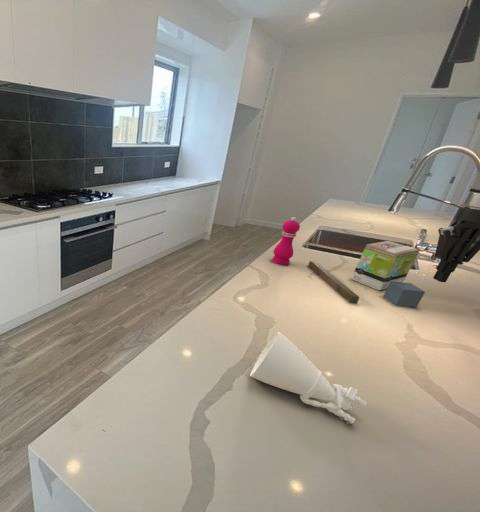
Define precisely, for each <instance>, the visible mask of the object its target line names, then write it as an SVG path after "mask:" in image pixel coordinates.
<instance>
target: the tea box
mask: <svg viewBox="0 0 480 512" xmlns="http://www.w3.org/2000/svg"><path fill="white" fill-rule="evenodd" d="M420 251H421V250H420V249H419V248H416V247H412V246H408V245H405V244H401V243H398V242H394V241H391V240H385V241H379V242H373V243H366V245H365V247H364V248H363V251H362V253H361V256H360V258H359V260H358V263H357V264H356V267H355V269H354V271H353V273H352V275H351V277H350V280H353V281H355V282H357V283H360V284H362V285H363V286H364V285H365V286H367V287H369V288H372V289H375V290H377V291H383V290H387V287H388V285H389V283H390V281H394V282H403V283H404V281H406V277H407V275H408V273H409V272H410V270H411V268H412V267H413V265H414V263H415V261H416V259H417V257H418V255H419V253H420Z"/></svg>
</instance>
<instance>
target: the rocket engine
mask: <svg viewBox="0 0 480 512" xmlns="http://www.w3.org/2000/svg"><path fill="white" fill-rule="evenodd" d="M249 376H250V377H251V378H253V379H254V380H257V381H260V382H262V383H265V384H267V385H270V386H273V387H275V388H278V389H281V390H284V391H287V392H290V393H294V394H298V395H299V399H300V401H302V402H303V403H304V404H306V405H308V406H313V407H317V408H322V409H326V410H327V411H328V412H329V413H332V414H334V415H335V416H337V417H340V420H344V421H346V424H354V422H355V420H356V418H355V417H354V416H352V415H350V413H347V412H345V411H351V410H352V409H353V405H352V404H356V405H357V407H358V408H360V406H361V408H365V407H366V406H367V404H368V403H367V402H368V401H366V400H365V399H364V398H361V397H360V396H358V392H359V390H358V389H357V388H355V387H353V386H350V387H349V388H348V387H344V386H342V384H338V383H337V384H336V383H333V384H332V385H331V384H330V381H328V380H327V378H326V377H325V376H324V375H323V372H322V370H320V369H318V368H317V367H316V366H315V365H314V364H313V362H312V361H311V360H310V359H309V358H308V357H307V356H306V355H305V354H304V353H303V352H302V351H301V350H300V349H299V347H298V346H296V345H295V344H294V343H293V342H292V341H291V340H290V339H289V338H288V337H287V336H285V335H284V334H283V333H281V332H280V331H277V332H276V333H275V334H274V335H273V337H272V338H271V339H270V341H269V342H268V343H267V345H266V346H265V348H264V349H263V351H262V352H261V354H260V356H259V357H258V359H257V361H256V362H255V364H254V365H253V367H252V369H251V371H250V374H249ZM312 398H313V399H312ZM315 399H316V400H315ZM319 400H322V401H328V402H327V403H324V402H321V401H319Z"/></svg>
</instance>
